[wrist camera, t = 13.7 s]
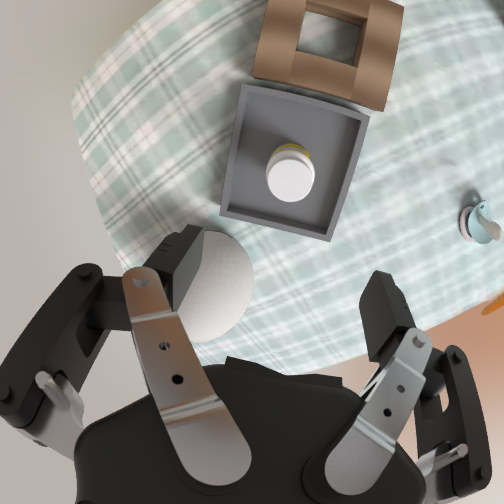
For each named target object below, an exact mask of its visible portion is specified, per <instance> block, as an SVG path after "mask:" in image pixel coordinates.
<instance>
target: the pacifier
mask: <svg viewBox="0 0 504 504" xmlns="http://www.w3.org/2000/svg"><path fill="white" fill-rule="evenodd" d="M482 205H483V207H482V208H480V207H481V206H482ZM488 208H489V205H488V202H487V201H485V200H483V201H481V202H480V203H479V204H477V205H476V206H475V207H472V206H468V207H466V208H465V209H464V210H463V212H462V214H461V217H460V228H461V232H462V235H463V236H464V238H465V239H466V240H467V241H470V242H474V241H476V242H478V243H480V244H487V243H489V242H490V241H491V240H492V239H494V240H496V241H499V240H500V239H501V237H502V230H501V227H500V226H499V225H498V224H497V223H496V222H493V221H492V220H491V219H490V218H489V217H488V216H487V213H488ZM469 212H471V213H470V215H469V218H468V229H469V232H470V234H471V236H470V235H468V233H467V231H466V228H465V219H466V216H467V214H468V213H469Z"/></svg>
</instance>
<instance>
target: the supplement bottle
mask: <svg viewBox="0 0 504 504" xmlns="http://www.w3.org/2000/svg"><path fill="white" fill-rule="evenodd" d="M314 177H315V171H314V167H313V163H312V160H311V158H310V155H309V153H308V151H307V150H306V149H305V148H304V147H303V146H301V145H299V144H297V143H292V142H288V143H283V144H281V145H279V146H278V147H277V148H276V149H275V150H274V151H273V152H272V154H271V157H270V159H269V162H268V164H267V167H266V179H267V182H268V187H269V189H270V191H271V192H272V194H273V195H274V196H275V197H277V198H278V199H280V200H282V201H286V202H295V201H299V200H301V199H303V198H304V197H305V196H307V194H308V193H309V192H310V190H311V187H312V184H313V182H314Z"/></svg>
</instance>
